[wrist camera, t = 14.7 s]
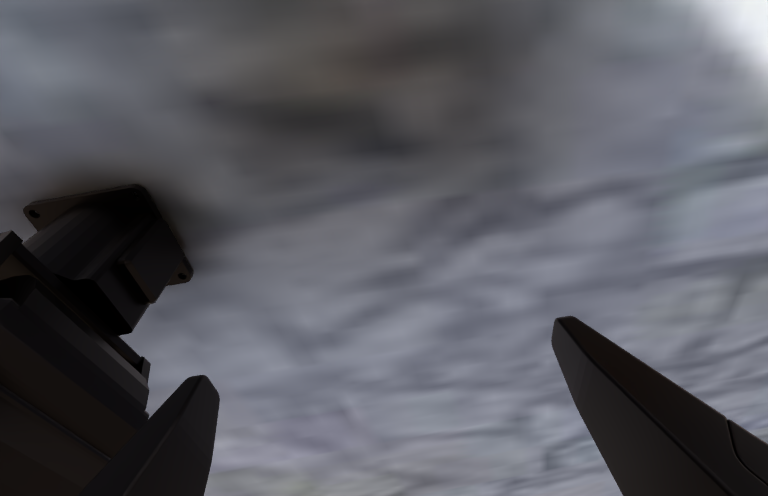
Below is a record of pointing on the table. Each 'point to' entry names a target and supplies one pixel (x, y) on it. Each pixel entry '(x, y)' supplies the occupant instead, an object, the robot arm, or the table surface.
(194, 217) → the table surface
